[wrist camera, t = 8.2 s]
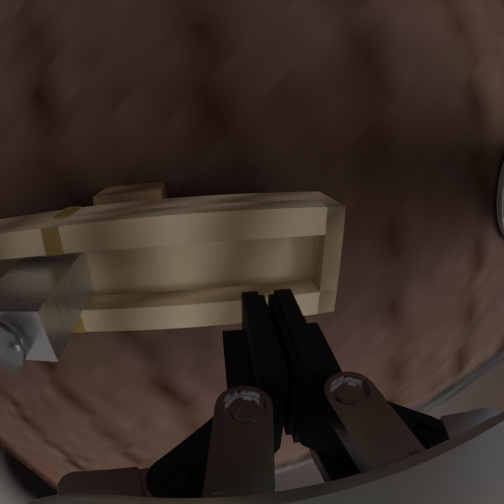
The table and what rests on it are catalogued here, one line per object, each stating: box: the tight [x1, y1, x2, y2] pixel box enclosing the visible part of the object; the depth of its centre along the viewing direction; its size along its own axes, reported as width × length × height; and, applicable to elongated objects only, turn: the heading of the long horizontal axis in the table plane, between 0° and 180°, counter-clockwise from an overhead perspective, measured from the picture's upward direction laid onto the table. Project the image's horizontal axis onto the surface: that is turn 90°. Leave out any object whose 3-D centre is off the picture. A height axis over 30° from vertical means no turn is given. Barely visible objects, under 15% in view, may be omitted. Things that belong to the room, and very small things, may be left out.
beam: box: [0, 181, 346, 333], centre depth 15 cm, size 22×7×10 cm, turn 90°
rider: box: [0, 252, 93, 371], centre depth 11 cm, size 4×2×7 cm, turn 90°
